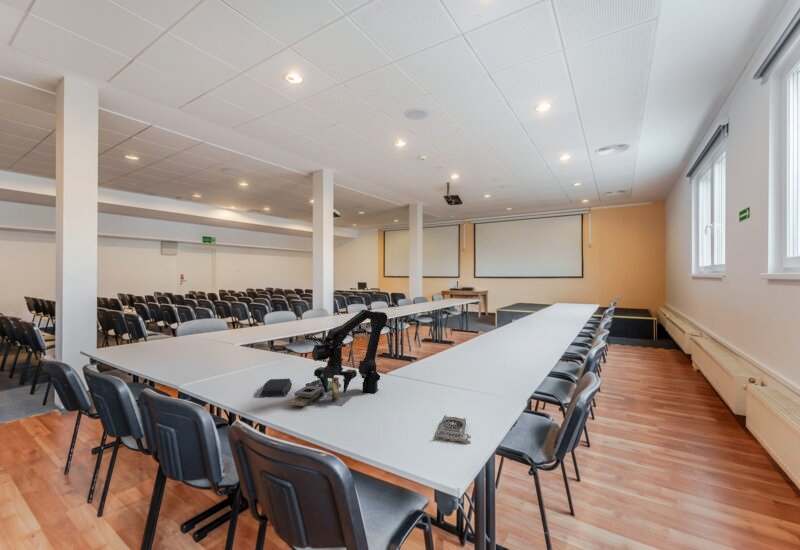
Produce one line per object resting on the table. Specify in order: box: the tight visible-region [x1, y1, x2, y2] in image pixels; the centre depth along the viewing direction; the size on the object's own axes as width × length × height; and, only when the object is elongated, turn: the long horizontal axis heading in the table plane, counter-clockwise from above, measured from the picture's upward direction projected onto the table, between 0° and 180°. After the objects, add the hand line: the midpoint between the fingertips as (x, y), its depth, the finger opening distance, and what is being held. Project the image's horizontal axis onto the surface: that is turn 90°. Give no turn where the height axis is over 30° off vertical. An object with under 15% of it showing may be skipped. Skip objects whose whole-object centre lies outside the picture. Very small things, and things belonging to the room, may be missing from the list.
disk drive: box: [305, 378, 342, 393], centre depth 174 cm, size 10×3×15 cm
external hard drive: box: [258, 378, 293, 399], centre depth 169 cm, size 13×19×4 cm
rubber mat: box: [316, 394, 353, 407], centre depth 155 cm, size 12×12×1 cm
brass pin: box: [331, 376, 340, 401], centre depth 155 cm, size 3×3×10 cm
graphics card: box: [435, 414, 472, 444], centre depth 125 cm, size 17×4×12 cm
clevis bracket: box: [288, 385, 325, 407], centre depth 153 cm, size 16×9×5 cm, turn 164°
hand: (335, 391), depth 155 cm, fingers open, 9 cm apart
